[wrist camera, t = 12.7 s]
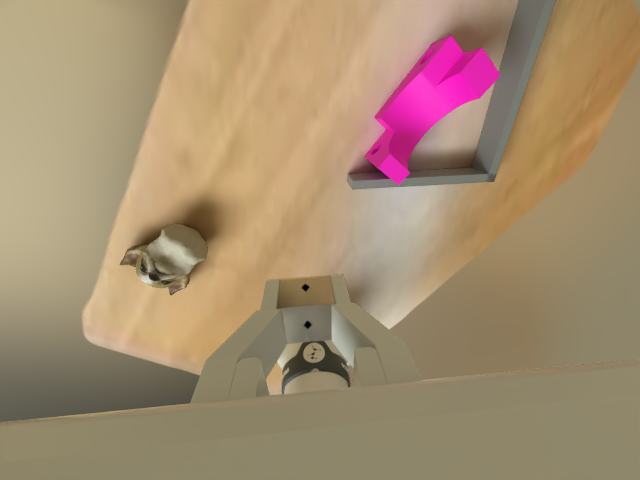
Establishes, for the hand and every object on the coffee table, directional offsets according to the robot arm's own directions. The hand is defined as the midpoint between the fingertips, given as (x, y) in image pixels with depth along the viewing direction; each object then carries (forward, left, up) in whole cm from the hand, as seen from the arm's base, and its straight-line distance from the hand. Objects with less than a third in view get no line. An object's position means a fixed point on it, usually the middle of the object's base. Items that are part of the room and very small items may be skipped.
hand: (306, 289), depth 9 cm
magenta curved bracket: (+5, -15, -30) cm, 33 cm away
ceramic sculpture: (-15, +22, -30) cm, 40 cm away
